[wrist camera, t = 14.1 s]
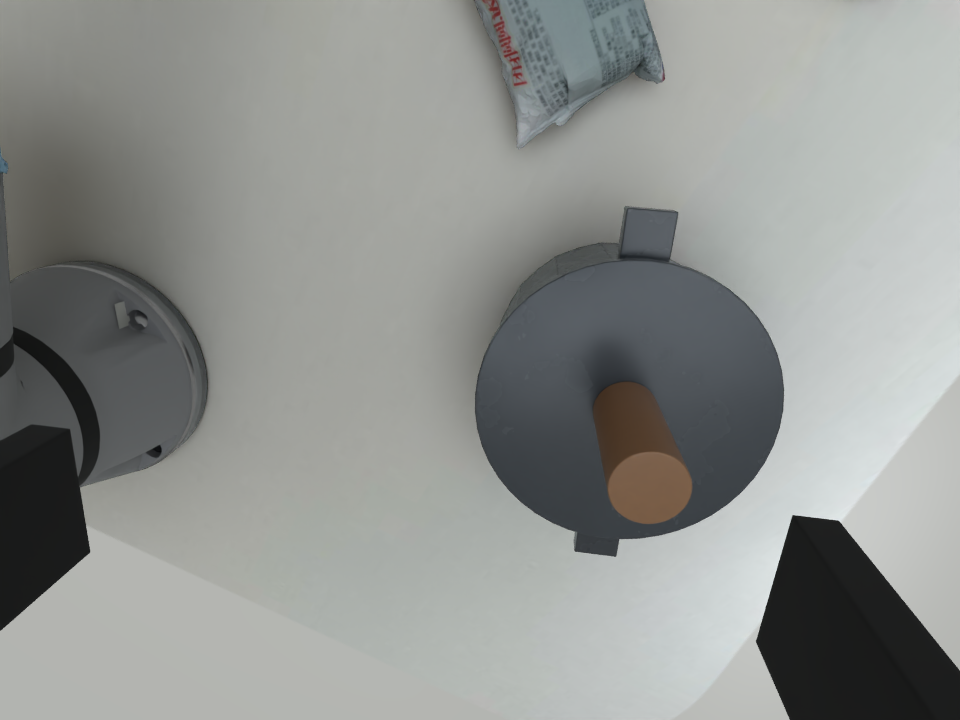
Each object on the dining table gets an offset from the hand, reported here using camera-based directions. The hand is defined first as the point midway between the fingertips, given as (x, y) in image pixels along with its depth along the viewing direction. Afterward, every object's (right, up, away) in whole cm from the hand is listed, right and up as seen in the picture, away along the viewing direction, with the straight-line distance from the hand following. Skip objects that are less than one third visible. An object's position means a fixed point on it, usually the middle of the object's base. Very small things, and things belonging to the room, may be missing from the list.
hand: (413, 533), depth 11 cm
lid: (+9, +1, +20) cm, 22 cm away
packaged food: (+5, +22, +22) cm, 32 cm away
